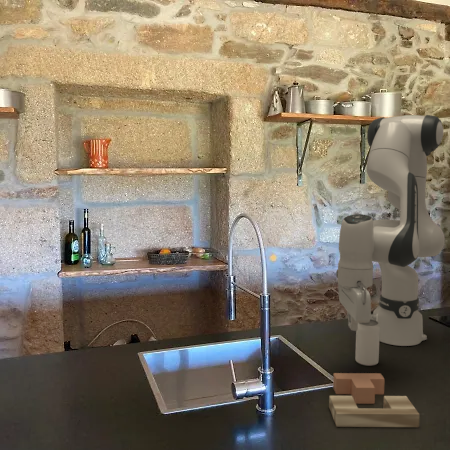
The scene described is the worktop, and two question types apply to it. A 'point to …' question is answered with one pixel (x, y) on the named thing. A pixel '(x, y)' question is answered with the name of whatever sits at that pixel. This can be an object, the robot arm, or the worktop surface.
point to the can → (367, 343)
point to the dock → (374, 413)
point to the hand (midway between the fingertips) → (352, 329)
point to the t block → (359, 386)
